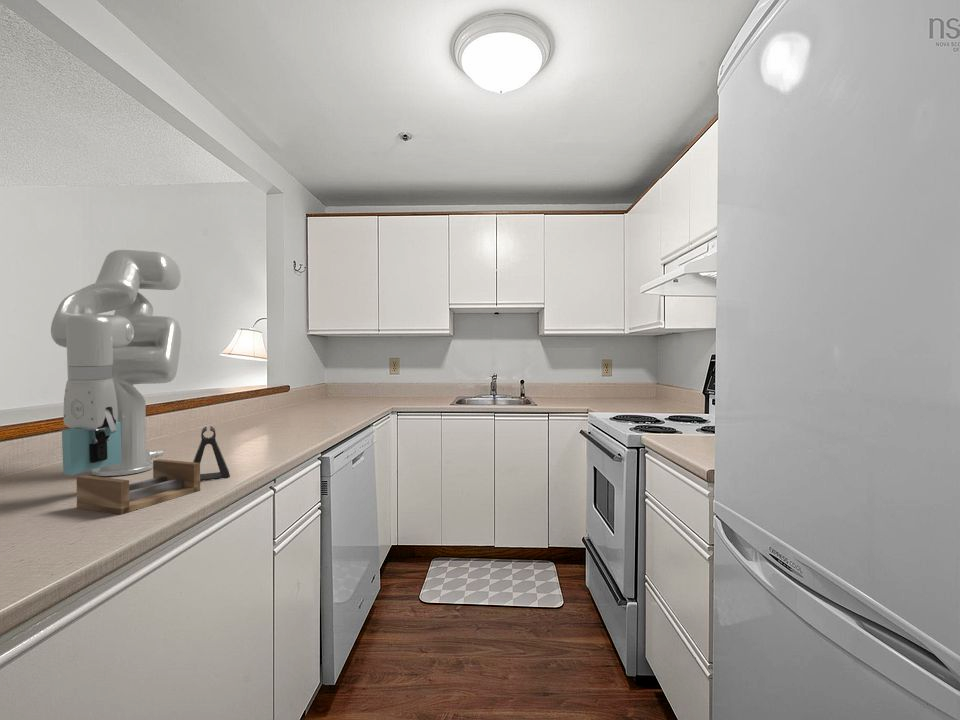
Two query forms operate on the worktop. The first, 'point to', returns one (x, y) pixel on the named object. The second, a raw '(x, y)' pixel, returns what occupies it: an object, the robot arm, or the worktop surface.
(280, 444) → the worktop surface
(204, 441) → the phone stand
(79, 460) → the door panel
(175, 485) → the cabinet track
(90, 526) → the worktop surface
